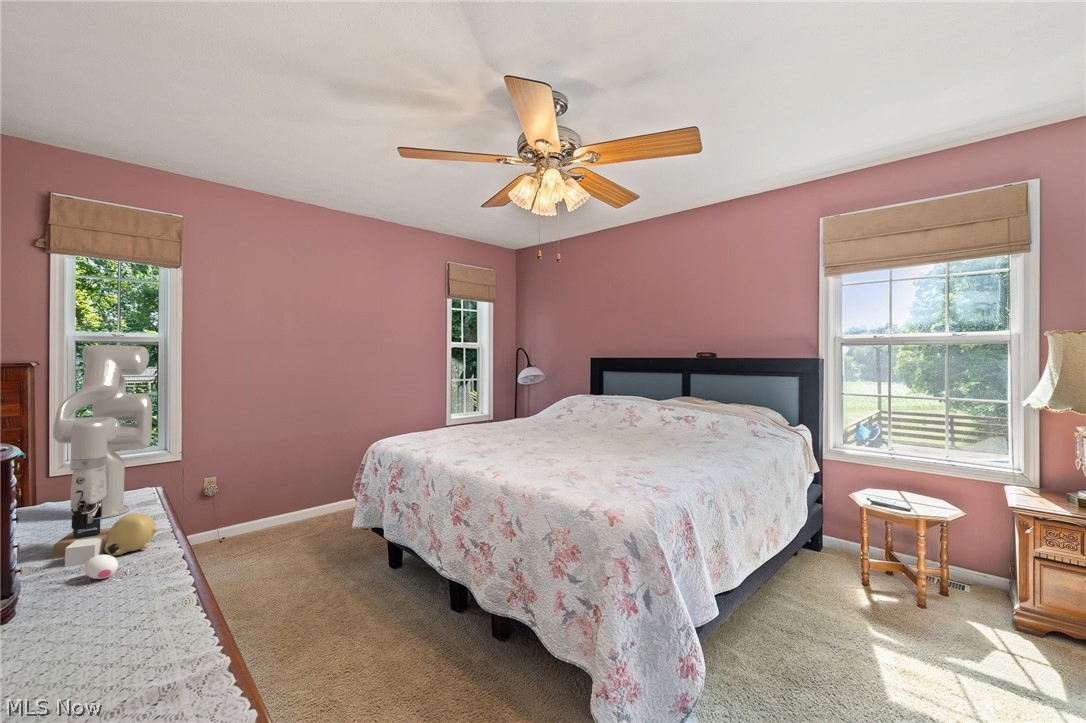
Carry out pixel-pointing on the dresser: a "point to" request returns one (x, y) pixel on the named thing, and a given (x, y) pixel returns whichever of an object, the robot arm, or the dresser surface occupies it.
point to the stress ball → (100, 566)
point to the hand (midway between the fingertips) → (87, 522)
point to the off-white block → (83, 551)
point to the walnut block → (67, 540)
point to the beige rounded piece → (130, 534)
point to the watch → (89, 522)
